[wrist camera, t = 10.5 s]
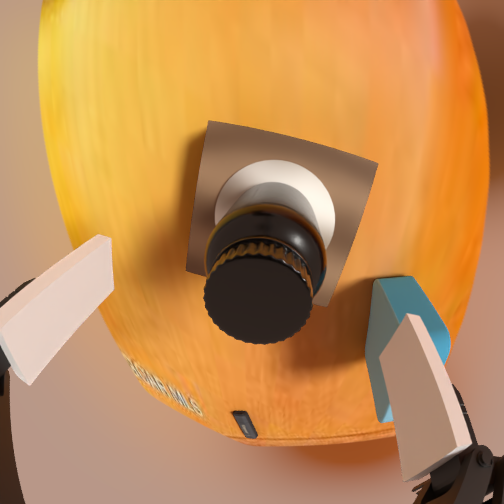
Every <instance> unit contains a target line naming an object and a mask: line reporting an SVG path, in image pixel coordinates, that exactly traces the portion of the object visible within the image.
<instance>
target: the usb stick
mask: <svg viewBox="0 0 504 504" xmlns="http://www.w3.org/2000/svg"><path fill="white" fill-rule="evenodd" d="M233 415H234V417H235V419H236V421H237V422H238V424H239V426H240V428H241V430H242V431H243V433H244V435H245V437H247V438H252V439H255V438H256V437H257V436H258V434H257V432H256V430H255V428H254V426H253V424H252V421H251V420H250V417H249V415H248V413H247V412H246V411H234V412H233Z"/></svg>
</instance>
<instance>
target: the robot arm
mask: <svg viewBox="0 0 504 504" xmlns="http://www.w3.org/2000/svg"><path fill="white" fill-rule="evenodd" d="M113 290H114V282H113V268H112V247H111V238H110V237H106V236H103V235H100V234H97V235H96V236H94V237H93V238H91V239H90V240H88V241H87V242H85V243H84V244H83V245H81V246H80V247H78V248H77V249H75V250H74V251H72V252H71V253H70V254H68V255H67V256H65V257H64V258H63V259H61V260H60V261H58V262H57V263H56V264H54V265H53V266H52V267H50V268H49V269H48V270H46V271H45V272H44V273H42V274H41V275H40V276H38V277H37V278H34V279H31V280H29V281H27V282H25V283H23V284H22V285H20V286H19V287H18V288H17V289H16V290H15V292H14V291H13V292H12V293H11V294H9V296H8V297H6V298H5V299H3V300H2V301H1V302H0V504H25V501H24V498H23V494H22V490H21V486H20V482H19V478H18V473H17V468H16V462H15V456H14V449H13V442H12V434H11V420H10V397H9V395H10V392H9V391H10V387H9V386H10V375H9V371H8V370H7V369H8V368H9V367H10V366H11V367H12V368H13V370H14V372H15V373H16V375H17V376H18V377H19V378H20V379H22V380H23V381H24V382H25V383H27V384H28V385H29V386H30V385H31V384H32V382H33V381H34V380H35V379H36V377H37V376H38V375H39V374H40V372H41V371H42V370H43V368H44V367H45V366H46V365H47V364H48V362H49V361H50V360H51V359H52V358H53V356H54V355H55V354H56V353H57V352H58V351H59V349H60V348H61V347H62V346H63V345H64V344H65V342H66V341H67V340H68V339H69V338H70V337H71V335H72V334H73V333H74V332H75V331H76V330H77V329H78V328H79V327H80V325H81V324H82V323H83V322H84V321H85V320H86V319H87V318H88V316H89V315H90V314H91V313H92V312H93V311H94V310H95V309H96V308H97V307H98V306H99V305H100V304H101V303H102V302H103V301H104V300H105V298H106V297H107V296H108V295H109V294H110V293H111V292H112V291H113ZM379 359H380V363H381V367H382V371H383V375H384V379H385V383H386V388H387V392H388V396H389V401H390V406H391V410H392V415H393V420H394V426H395V431H396V437H397V442H398V449H399V455H400V462H401V470H402V478H403V482H408V481H413V480H419V479H421V478H422V477H424V476H426V475H427V474H429V473H430V476H431V478H430V479H428V480H427V481H425V482H423V483H421V484H419V485H418V486H416V487H414V488H413V490H412V491H413V492H414V491H416V490H418V489H420V488H422V489H421V490H420V491H418V492H417V493H416V494H418V496H417V498H416V500H415V502H414V503H413V504H504V455H503V456H502V457H496V456H493V454H492V452H491V451H490V449H489V448H488V447H486V446H484V445H479V446H478V443H477V441H476V437H475V434H474V431H473V428H472V425H471V422H470V419H469V416H468V414H467V411H466V408H465V406H464V403H463V400H462V397H461V395H460V393H459V391H458V390H457V389H456V387H455V386H454V385H453V384H451V382H450V379H449V377H448V374H447V373H446V370H445V368H444V365H443V363H442V361H441V359H440V356H439V354H438V352H437V350H436V348H435V346H434V343H433V341H432V339H431V337H430V335H429V333H428V331H427V329H426V327H425V325H424V323H423V321H422V320H421V318H420V316H418V315H413V314H408V313H406V315H405V317H404V319H403V320H402V322H401V324H400V325H399V327H398V329H397V330H396V332H395V333H394V335H393V337H392V338H391V340H390V341H389V343H388V344H387V346H386V347H385V349H384V350H383V352H382V353H381V355H380V356H379ZM493 491H494V492H493ZM491 492H493V498H491V499H489V500H487V501H485V502H483V499H484V497H485V496H486V495H488V494H490V493H491Z"/></svg>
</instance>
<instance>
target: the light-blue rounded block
mask: <svg viewBox="0 0 504 504" xmlns="http://www.w3.org/2000/svg"><path fill="white" fill-rule="evenodd" d="M406 313H408V314H413V315H418V316H420V318H421V320H422V321H423V323H424V325H425V327H426V329H427V331H428V333H429V335H430V337H431V339H432V341H433V343H434V346H435V348H436V350H437V352H438V354H439V356H440V359H441V361H442V363H443V365H444V364H445V362H446V360H447V357H448V355H449V352H450V344H451V342H450V335H449V331H448V329H447V327H446V326H445V324H444V323H443V321H442V319H441V318H440V316H439V314H438V313H437V311H436V310H435V308H434V307H433V305H432V304H431V302H430V301H429V299H428V297H427V296H426V295H425V293H424V292H423V290H422V289H421V287H420V286H419V284H418V283H417V281H416V280H415V279H414V277H412V276H404V277H393V278H382V279H376V280H375V281H374V283H373V289H372V299H371V308H370V317H369V324H368V332H367V339H366V345H365V358H366V363H367V368H368V373H369V377H370V382H371V387H372V392H373V397H374V402H375V408H376V413H377V418H378V421H379V422H380V423H384V422H390V421H394V420H393V415H392V410H391V406H390V401H389V396H388V392H387V388H386V383H385V379H384V375H383V371H382V367H381V363H380V359H379V356H380V355H381V353H382V352H383V350H384V349H385V347H386V346H387V344H388V343H389V341H390V340H391V338H392V337H393V335H394V333H395V332H396V330H397V329H398V327H399V325H400V324H401V322H402V320H403V319H404V317H405V315H406Z"/></svg>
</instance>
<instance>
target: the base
mask: <svg viewBox="0 0 504 504" xmlns="http://www.w3.org/2000/svg"><path fill="white" fill-rule="evenodd" d="M377 166H378V163H376V162H373V161H371V160H368V159H365V158H362V157H359V156H356V155H353V154H350V153H347V152H344V151H341V150H337V149H334V148H331V147H327V146H324V145H321V144H317V143H313V142H310V141H306V140H302V139H298V138H295V137H291V136H286V135H282V134H278V133H274V132H269V131H265V130H260V129H255V128H250V127H245V126H240V125H234V124H228V123H222V122H216V121H208V126H207V131H206V136H205V141H204V146H203V152H202V158H201V163H200V169H199V175H198V181H197V187H196V194H195V201H194V207H193V214H192V222H191V229H190V237H189V245H188V254H187V263H186V271H188V272H191V273H195V274H198V275H202V276H205V277H207V275H206V271H205V265H204V254H205V248H206V244H207V241H208V238H209V236H210V234H211V233H212V231H213V229H214V228H215V226H216V225H217V224H218V222H219V221H220V220H221V219H222V217H223V216H224V215H225V214H226V213H227V211H228V210H229V209H230V208H231V207H232V205H233V204H234V203H235V202H236V201H237V199H238V198H239V197H240V196H241V195H242V194H243V193H244V192H245V191H247V190H248V189H250V188H251V187H253V186H255V185H258V184H261V183H265V182H280V183H284V184H287V185H290V186H292V187H294V188H296V189H297V190H299V191H300V192H301V193H302V194H303V195H304V196H305V197H306V198H307V200H308V201H309V203H310V204H311V206H312V208H313V211H314V213H315V216H316V219H317V222H318V226H319V229H320V232H321V235H322V238H323V242H324V245H325V249H326V255H327V271H326V275H325V279H324V282H323V284H322V286H321V288H320V290H319V292H318V293H317V294H316V296H315V297H314V298H313V300H312V302H313V304H315V305H319V306H324V307H327V306H328V304H329V302H330V299H331V297H332V295H333V292H334V290H335V288H336V285H337V283H338V280H339V278H340V275H341V273H342V270H343V268H344V265H345V262H346V260H347V257H348V255H349V252H350V249H351V246H352V244H353V241H354V238H355V235H356V233H357V230H358V227H359V224H360V221H361V218H362V215H363V212H364V209H365V206H366V203H367V200H368V197H369V193H370V190H371V187H372V184H373V180H374V177H375V173H376V170H377Z"/></svg>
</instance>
